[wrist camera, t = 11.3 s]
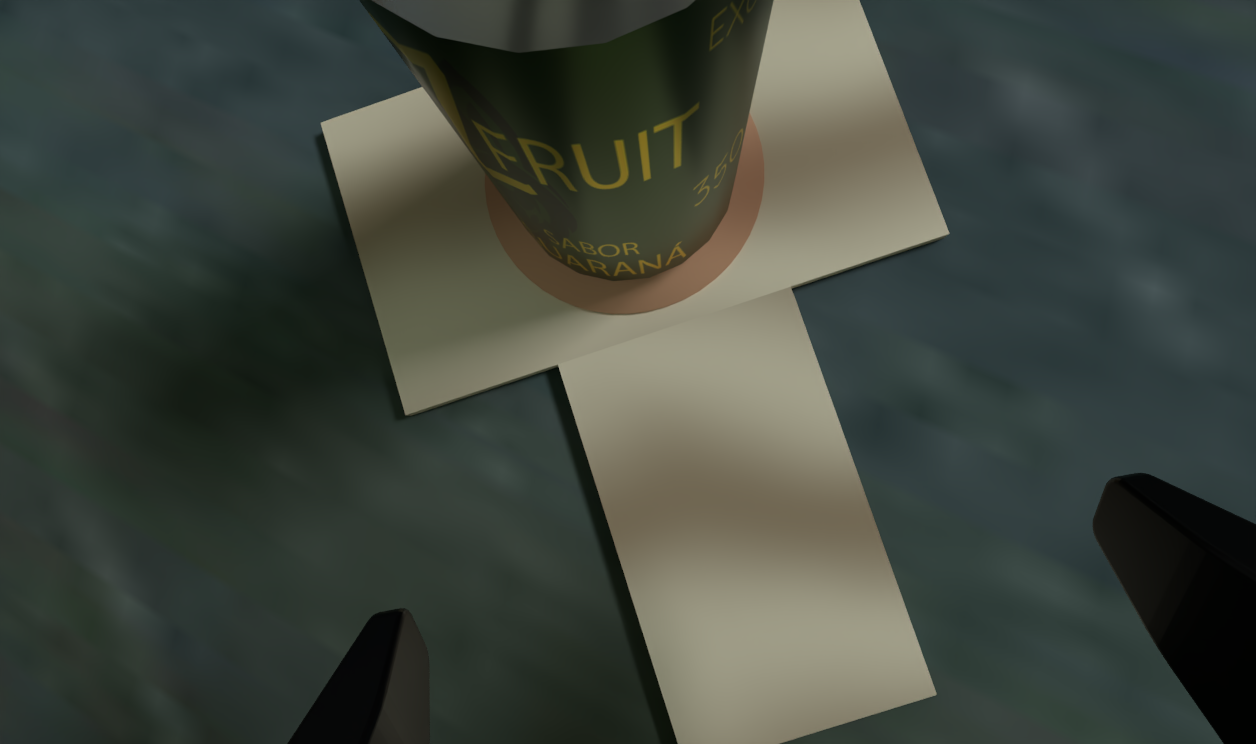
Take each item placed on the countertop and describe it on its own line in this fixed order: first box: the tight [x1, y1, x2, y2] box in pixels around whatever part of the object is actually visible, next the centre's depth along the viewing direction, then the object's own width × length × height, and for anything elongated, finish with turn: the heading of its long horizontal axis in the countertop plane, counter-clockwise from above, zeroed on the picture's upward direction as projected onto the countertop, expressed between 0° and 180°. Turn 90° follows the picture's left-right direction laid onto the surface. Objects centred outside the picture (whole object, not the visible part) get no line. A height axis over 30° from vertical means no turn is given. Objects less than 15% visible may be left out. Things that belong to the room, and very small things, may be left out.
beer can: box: [360, 0, 774, 281], centre depth 12 cm, size 5×5×12 cm
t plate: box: [321, 0, 949, 744], centre depth 18 cm, size 18×14×1 cm
